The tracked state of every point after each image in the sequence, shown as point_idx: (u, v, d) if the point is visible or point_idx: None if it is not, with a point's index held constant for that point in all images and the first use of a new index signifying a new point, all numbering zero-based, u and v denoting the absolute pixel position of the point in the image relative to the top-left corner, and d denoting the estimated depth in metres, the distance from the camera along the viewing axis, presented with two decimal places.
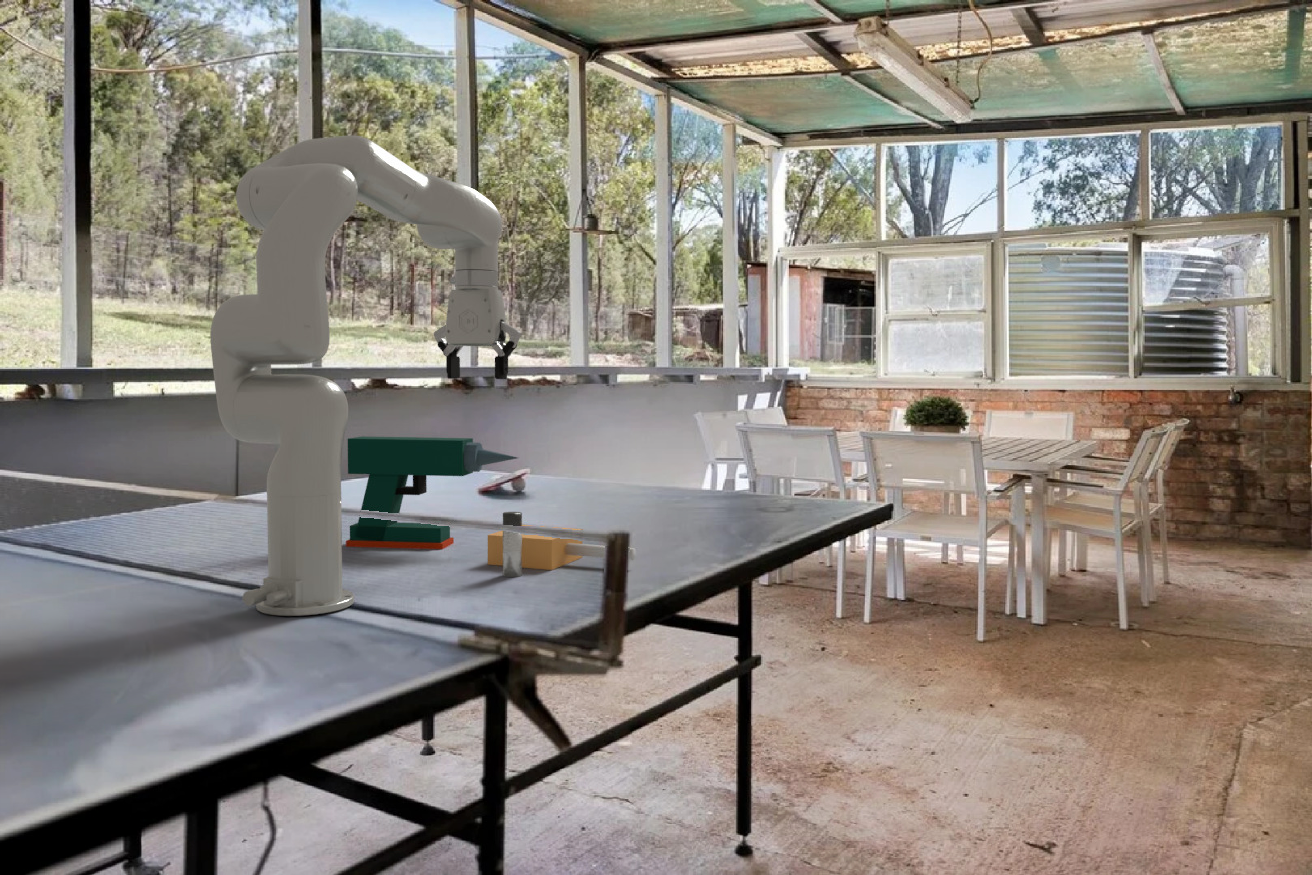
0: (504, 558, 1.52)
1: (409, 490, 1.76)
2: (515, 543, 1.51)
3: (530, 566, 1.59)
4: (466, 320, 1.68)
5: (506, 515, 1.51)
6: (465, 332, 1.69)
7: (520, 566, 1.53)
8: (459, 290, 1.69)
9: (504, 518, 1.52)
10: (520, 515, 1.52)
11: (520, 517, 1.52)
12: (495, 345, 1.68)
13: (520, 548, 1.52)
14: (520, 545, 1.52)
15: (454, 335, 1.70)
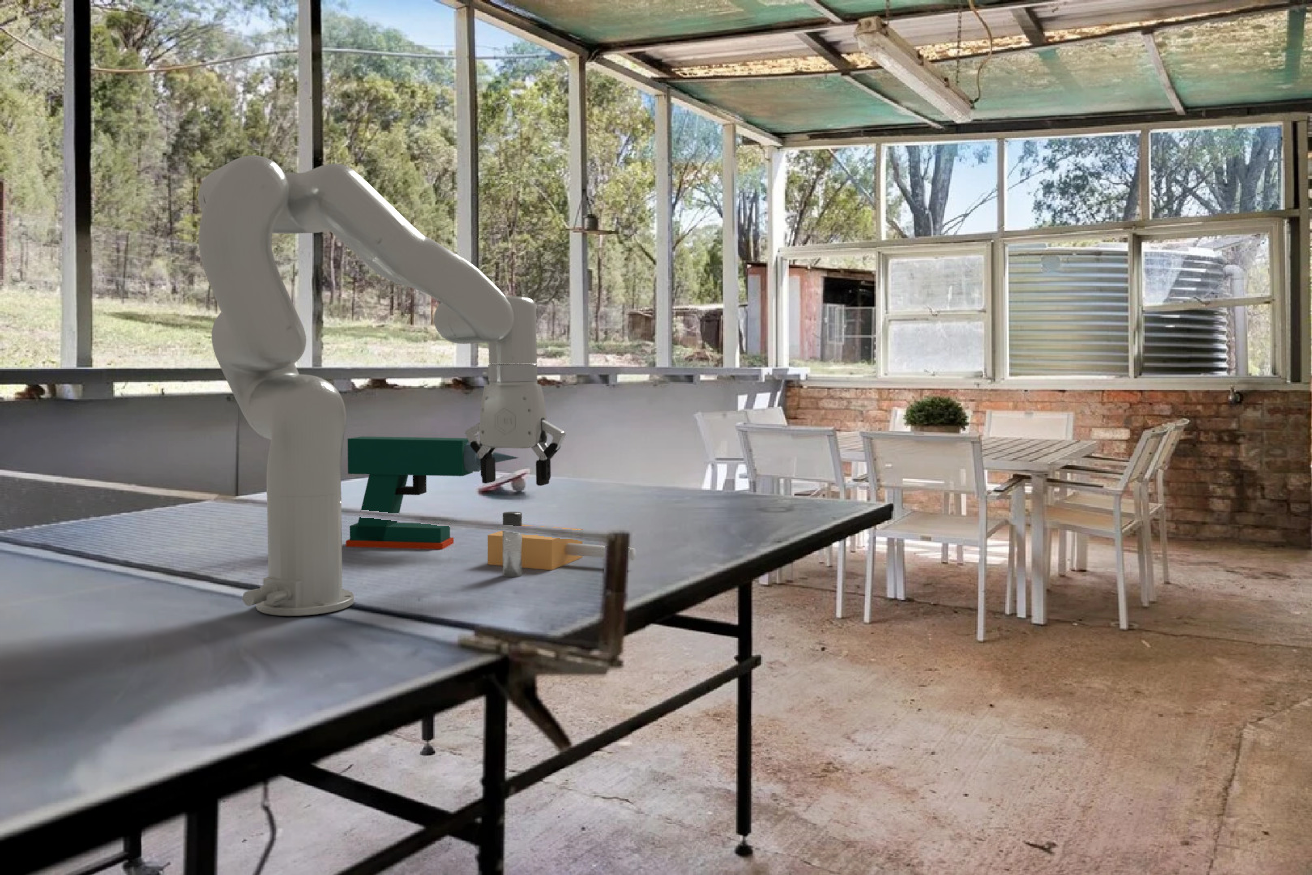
0: (504, 558, 1.52)
1: (409, 490, 1.76)
2: (515, 543, 1.51)
3: (530, 566, 1.59)
4: (503, 420, 1.49)
5: (506, 515, 1.51)
6: (502, 434, 1.50)
7: (520, 566, 1.53)
8: (494, 386, 1.50)
9: (504, 518, 1.52)
10: (520, 515, 1.52)
11: (520, 517, 1.52)
12: (536, 448, 1.49)
13: (520, 548, 1.52)
14: (520, 545, 1.52)
15: (489, 436, 1.50)
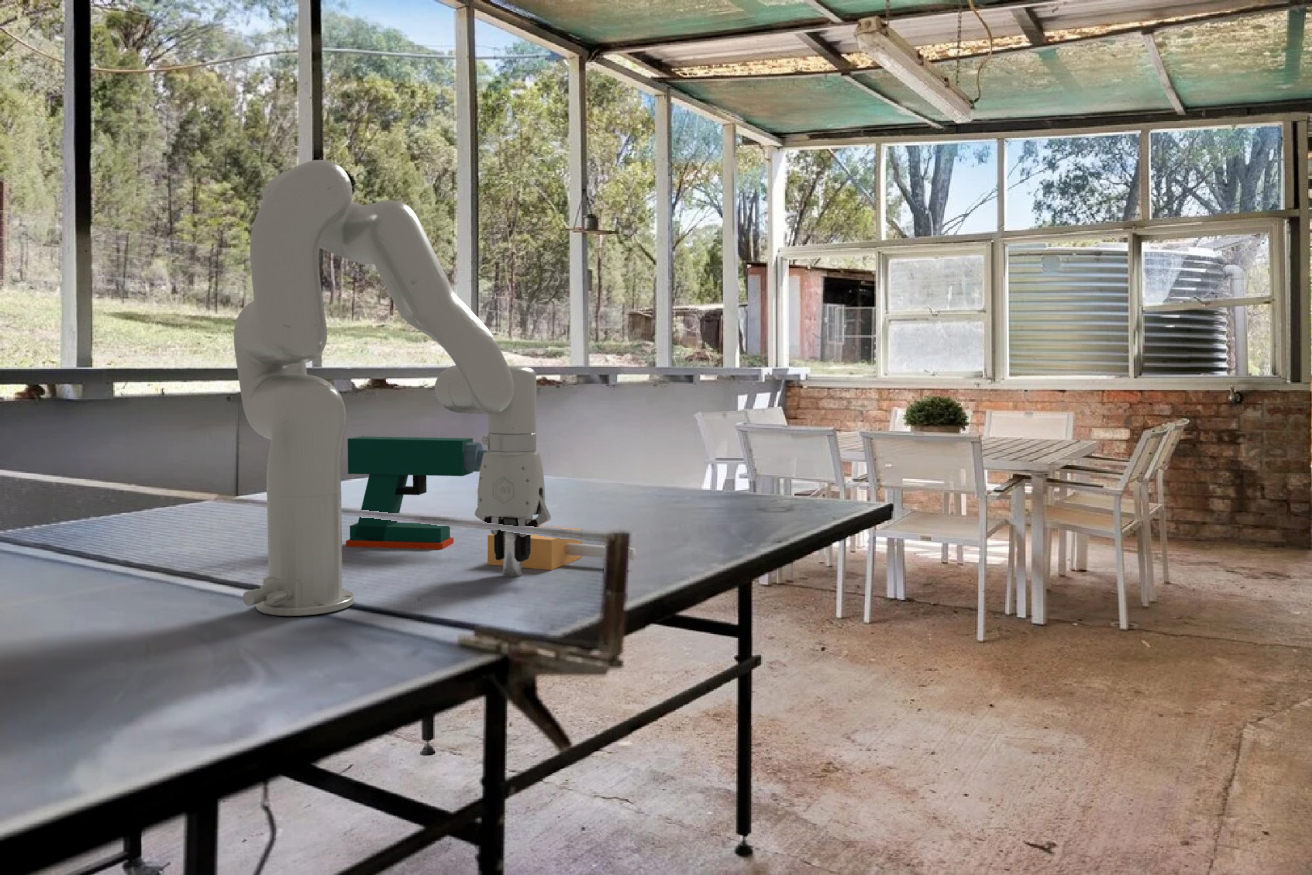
0: (504, 558, 1.52)
1: (409, 490, 1.76)
2: (515, 543, 1.51)
3: (530, 566, 1.59)
4: (501, 489, 1.50)
5: None
6: (500, 502, 1.50)
7: (520, 566, 1.53)
8: (493, 455, 1.50)
9: (504, 518, 1.52)
10: None
11: None
12: (521, 522, 1.51)
13: None
14: None
15: (487, 505, 1.51)
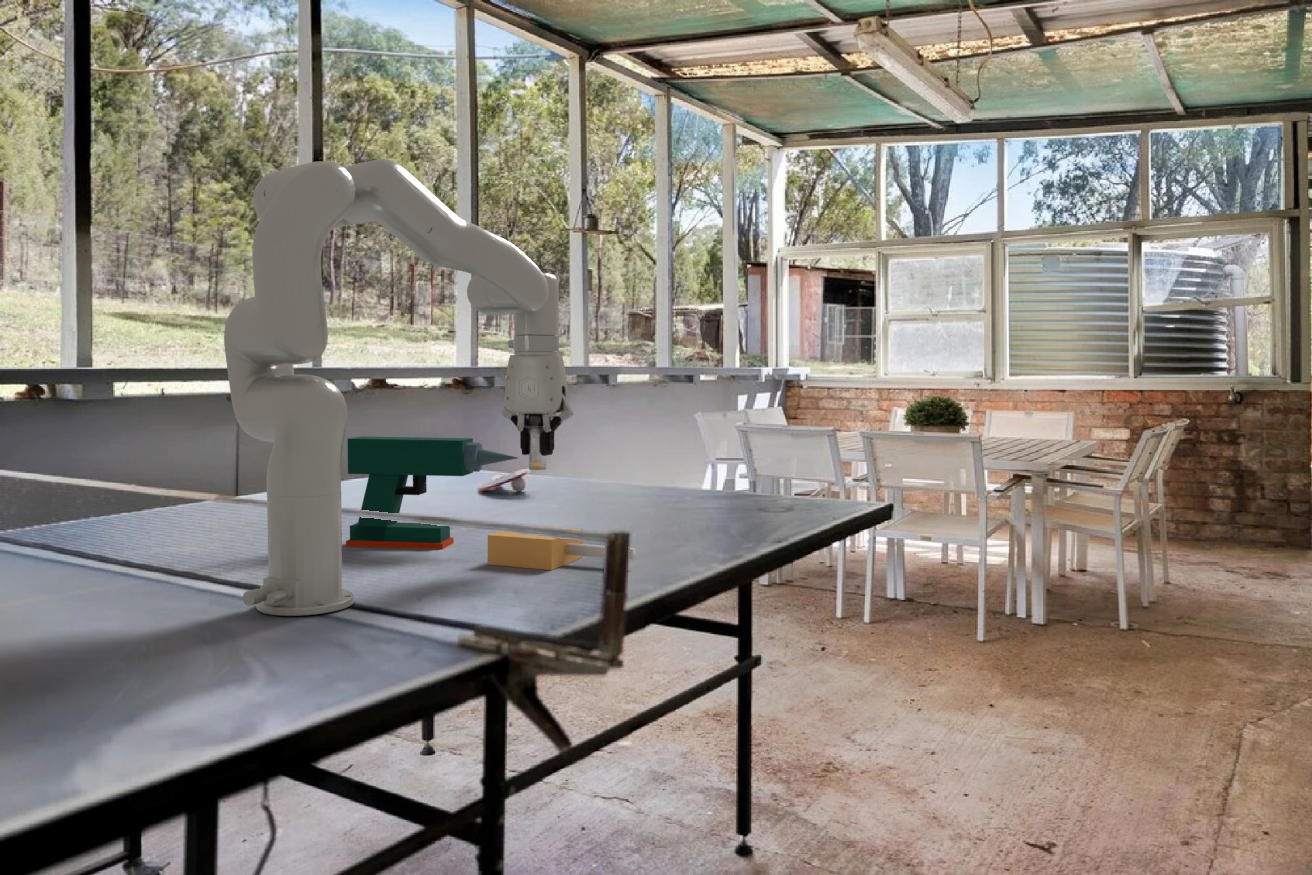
0: (530, 453, 1.63)
1: (409, 490, 1.76)
2: (540, 438, 1.63)
3: (530, 566, 1.59)
4: (526, 387, 1.61)
5: None
6: (526, 400, 1.61)
7: (545, 460, 1.64)
8: (519, 356, 1.61)
9: (530, 415, 1.63)
10: None
11: None
12: (546, 418, 1.62)
13: None
14: None
15: (514, 402, 1.62)
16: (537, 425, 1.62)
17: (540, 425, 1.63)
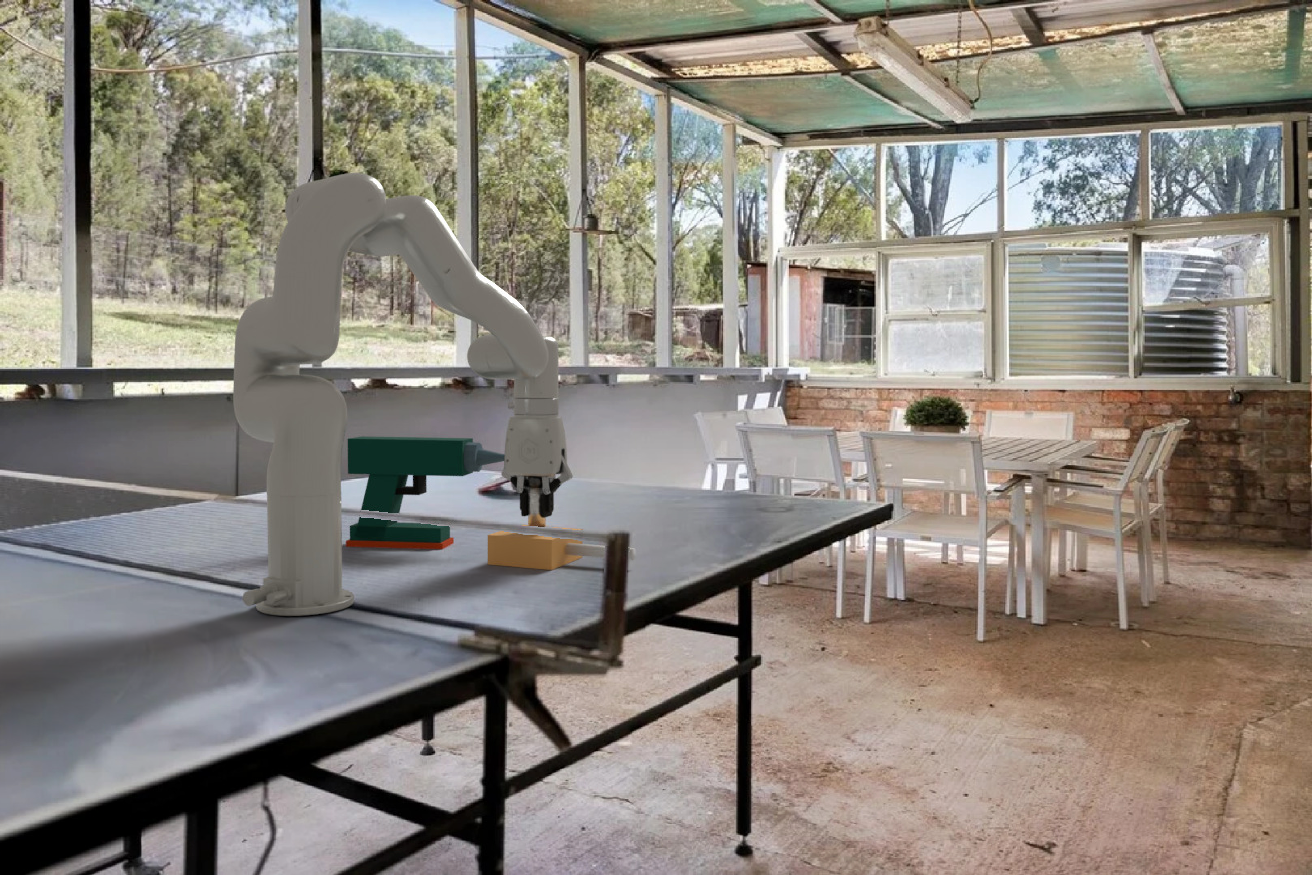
0: (529, 514, 1.64)
1: (409, 490, 1.76)
2: (539, 500, 1.63)
3: (530, 566, 1.59)
4: (526, 450, 1.61)
5: None
6: (525, 462, 1.62)
7: (544, 522, 1.64)
8: (518, 418, 1.62)
9: (529, 477, 1.63)
10: None
11: None
12: (545, 481, 1.62)
13: None
14: None
15: (513, 465, 1.63)
16: (536, 487, 1.63)
17: (539, 487, 1.63)
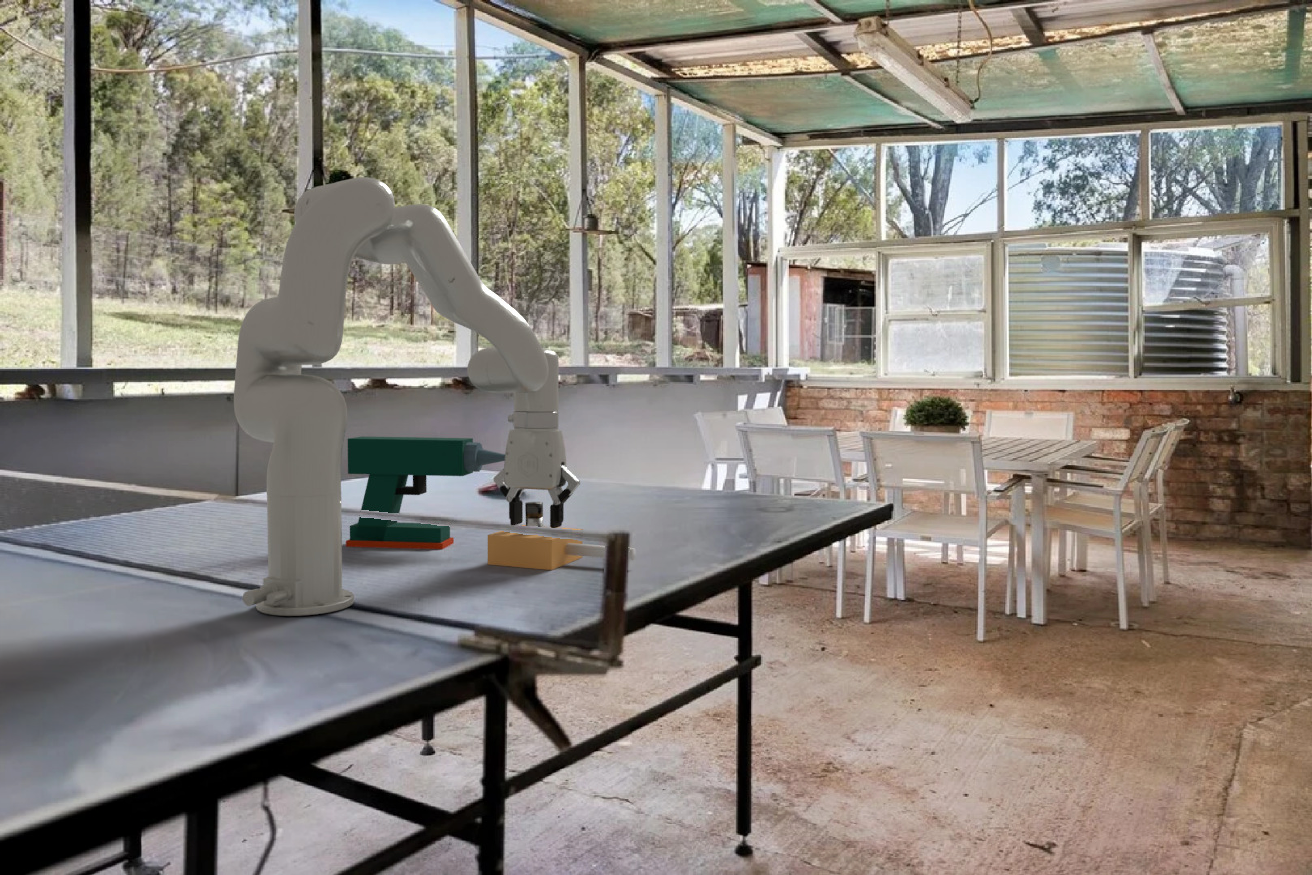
0: None
1: (409, 490, 1.76)
2: None
3: (530, 566, 1.59)
4: (526, 463, 1.62)
5: (528, 505, 1.63)
6: (525, 476, 1.62)
7: None
8: (518, 431, 1.62)
9: (526, 507, 1.64)
10: (541, 504, 1.64)
11: (541, 506, 1.64)
12: (552, 492, 1.62)
13: None
14: None
15: (513, 478, 1.63)
16: (534, 517, 1.63)
17: (537, 517, 1.63)
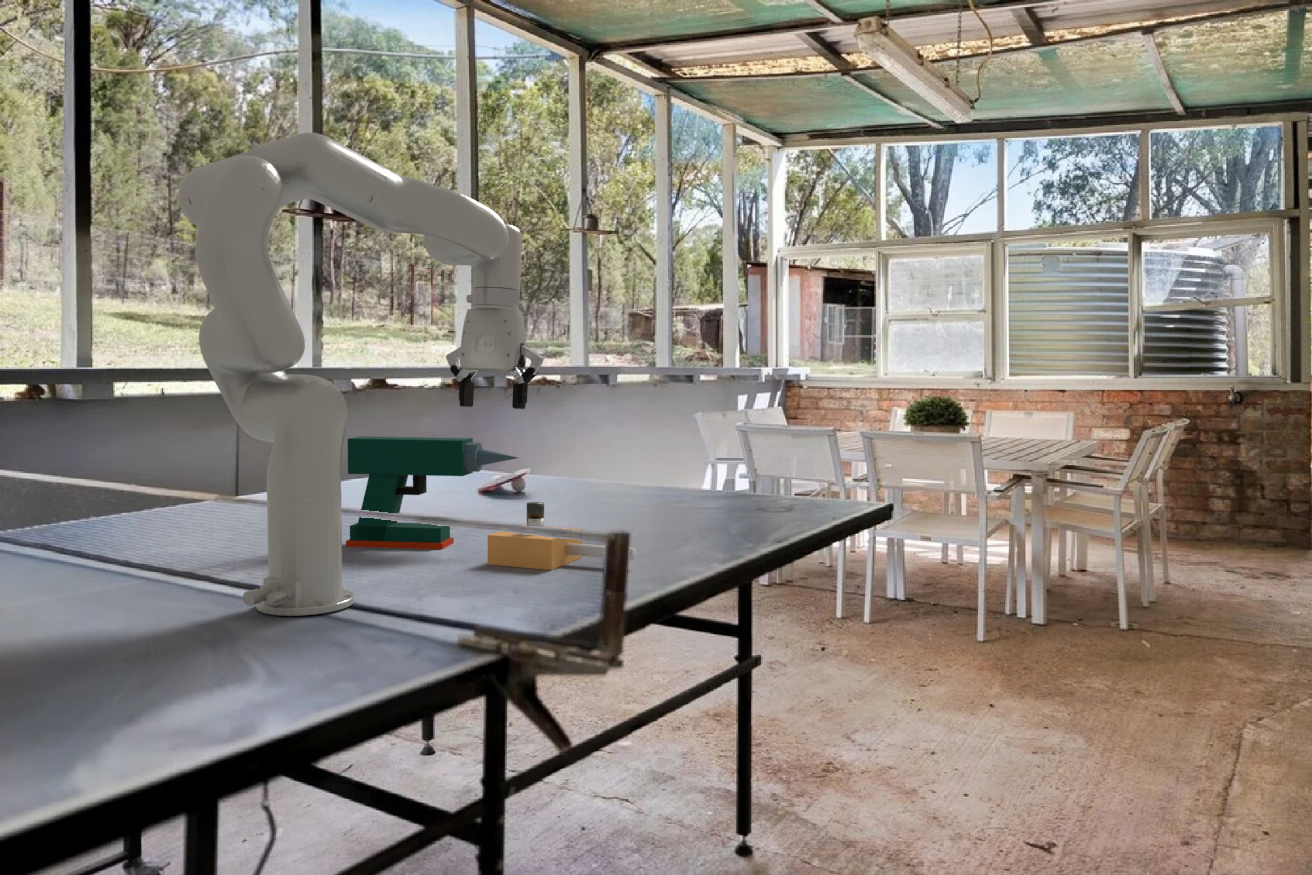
0: None
1: (409, 490, 1.76)
2: None
3: (530, 566, 1.59)
4: (483, 343, 1.53)
5: (530, 505, 1.63)
6: (482, 356, 1.53)
7: None
8: (476, 309, 1.53)
9: (528, 508, 1.64)
10: (543, 505, 1.64)
11: (543, 507, 1.64)
12: (514, 371, 1.53)
13: None
14: None
15: (469, 359, 1.54)
16: (535, 518, 1.63)
17: (538, 518, 1.63)
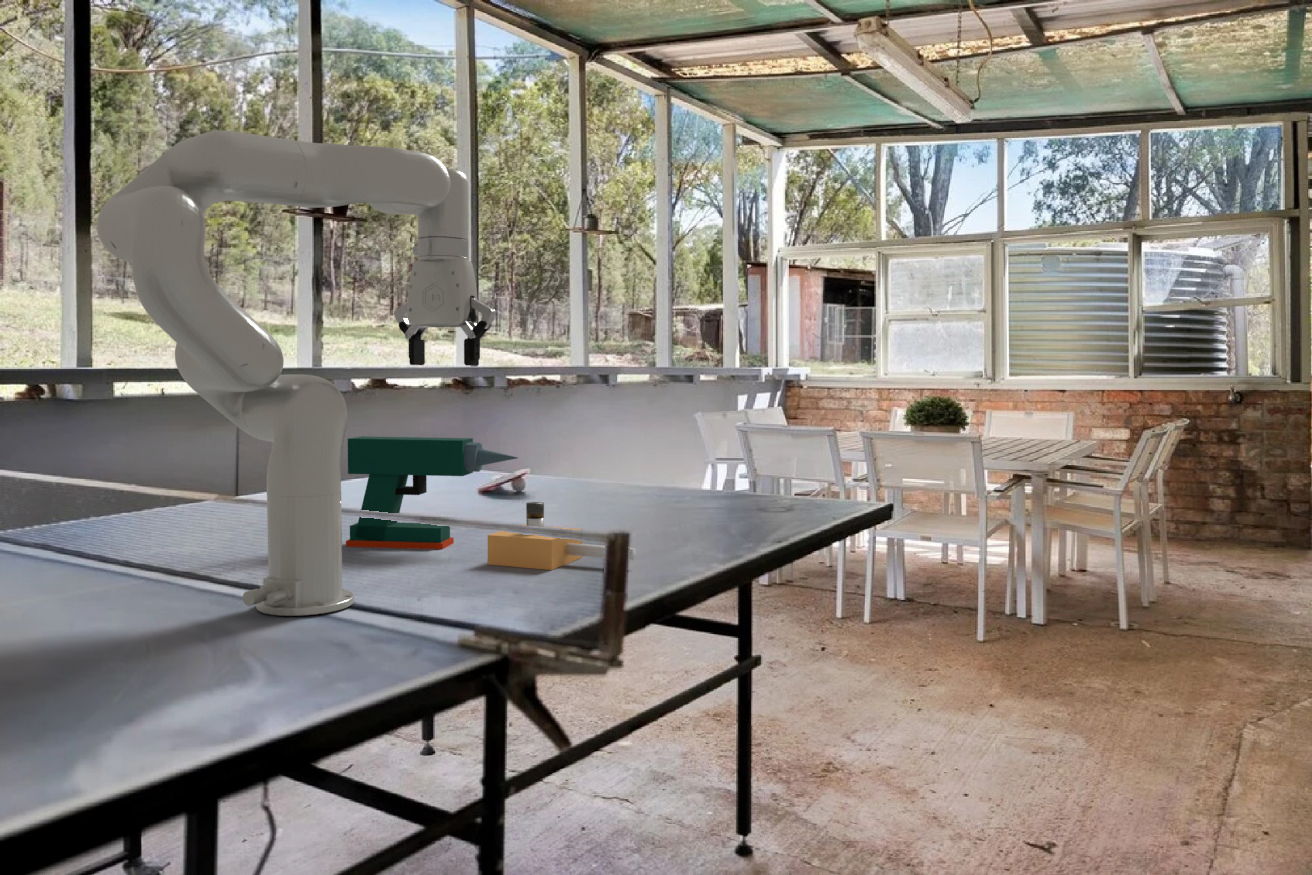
0: None
1: (409, 490, 1.76)
2: None
3: (530, 566, 1.59)
4: (430, 296, 1.44)
5: (529, 505, 1.63)
6: (430, 310, 1.44)
7: None
8: (422, 261, 1.45)
9: (528, 508, 1.64)
10: (542, 505, 1.64)
11: (542, 507, 1.64)
12: (464, 325, 1.44)
13: None
14: None
15: (417, 314, 1.45)
16: (535, 518, 1.63)
17: (538, 518, 1.63)
